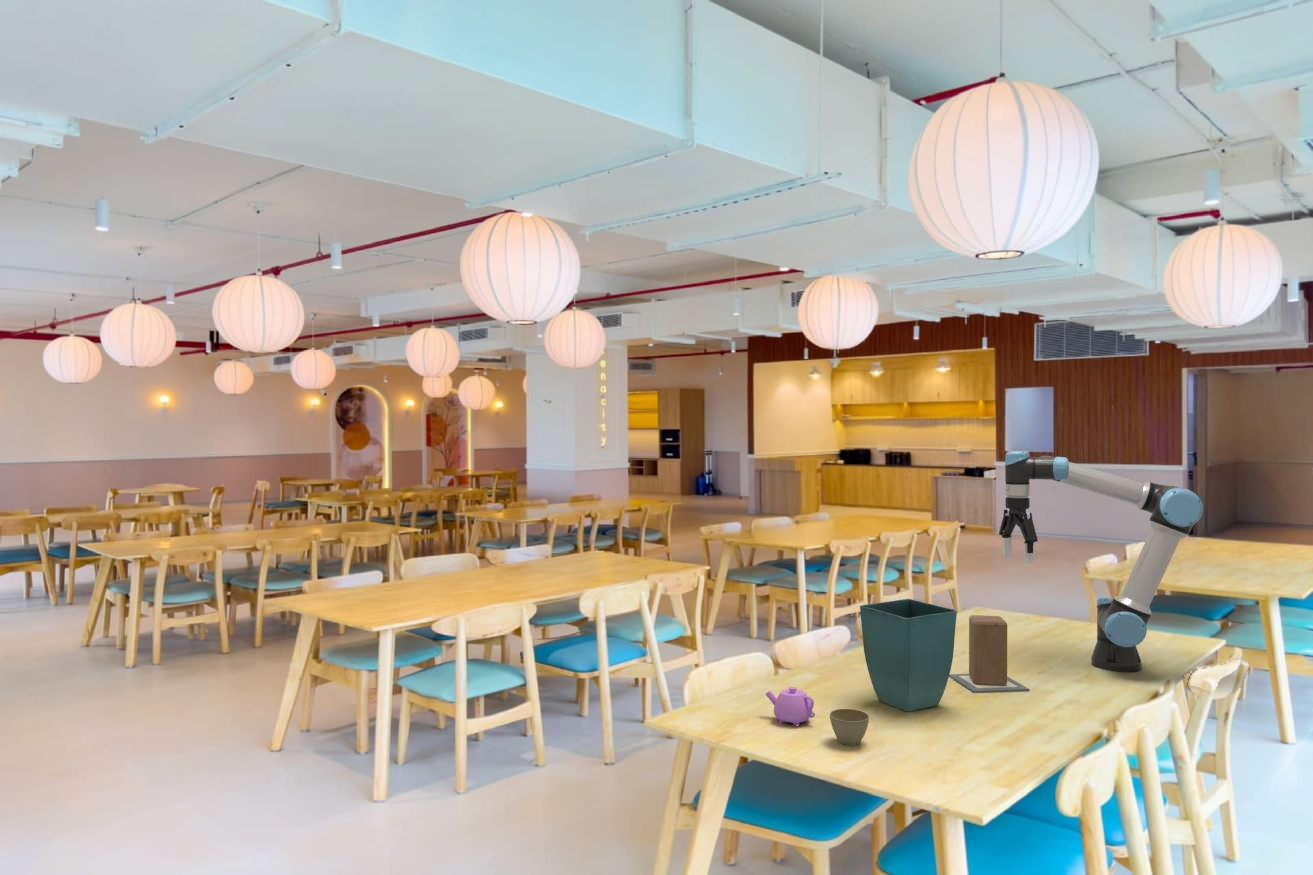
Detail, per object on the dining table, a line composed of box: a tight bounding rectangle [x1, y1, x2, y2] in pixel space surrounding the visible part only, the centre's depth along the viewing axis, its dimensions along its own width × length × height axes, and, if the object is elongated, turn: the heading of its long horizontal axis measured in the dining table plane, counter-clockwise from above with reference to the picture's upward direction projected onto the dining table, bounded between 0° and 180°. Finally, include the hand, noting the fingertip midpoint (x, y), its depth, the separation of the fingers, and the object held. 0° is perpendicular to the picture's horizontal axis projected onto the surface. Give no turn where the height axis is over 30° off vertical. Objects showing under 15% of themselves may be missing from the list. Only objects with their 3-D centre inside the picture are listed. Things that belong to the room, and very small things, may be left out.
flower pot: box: [859, 598, 958, 712], centre depth 255 cm, size 20×20×28 cm
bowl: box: [829, 708, 870, 746], centre depth 224 cm, size 10×10×7 cm
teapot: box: [765, 686, 816, 726], centre depth 240 cm, size 10×15×9 cm
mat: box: [949, 673, 1031, 694], centre depth 275 cm, size 18×18×1 cm
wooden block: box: [968, 614, 1008, 686], centre depth 275 cm, size 10×10×20 cm
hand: (1017, 559), depth 293 cm, fingers open, 13 cm apart
